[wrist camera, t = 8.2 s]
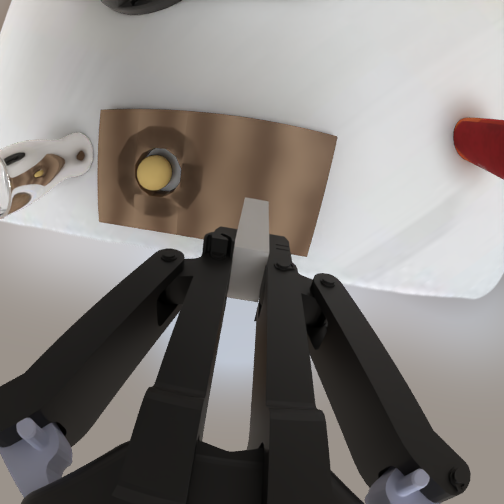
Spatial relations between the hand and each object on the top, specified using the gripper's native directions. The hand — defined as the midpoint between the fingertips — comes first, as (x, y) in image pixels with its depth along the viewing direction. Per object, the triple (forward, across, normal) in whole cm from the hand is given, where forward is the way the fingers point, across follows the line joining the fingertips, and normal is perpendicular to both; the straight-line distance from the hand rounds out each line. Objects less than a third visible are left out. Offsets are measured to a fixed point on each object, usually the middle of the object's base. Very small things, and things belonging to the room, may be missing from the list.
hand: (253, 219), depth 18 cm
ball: (+12, -11, -1) cm, 16 cm away
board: (+14, -6, -1) cm, 15 cm away
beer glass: (+14, -24, 0) cm, 28 cm away
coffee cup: (+14, +26, +12) cm, 32 cm away
